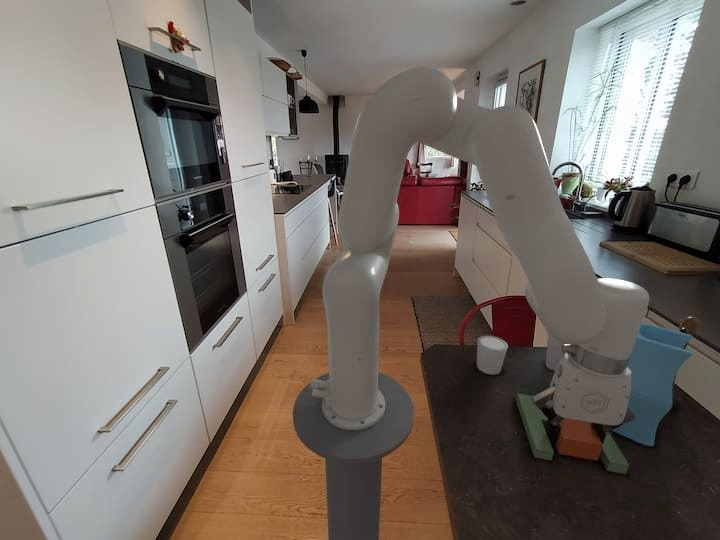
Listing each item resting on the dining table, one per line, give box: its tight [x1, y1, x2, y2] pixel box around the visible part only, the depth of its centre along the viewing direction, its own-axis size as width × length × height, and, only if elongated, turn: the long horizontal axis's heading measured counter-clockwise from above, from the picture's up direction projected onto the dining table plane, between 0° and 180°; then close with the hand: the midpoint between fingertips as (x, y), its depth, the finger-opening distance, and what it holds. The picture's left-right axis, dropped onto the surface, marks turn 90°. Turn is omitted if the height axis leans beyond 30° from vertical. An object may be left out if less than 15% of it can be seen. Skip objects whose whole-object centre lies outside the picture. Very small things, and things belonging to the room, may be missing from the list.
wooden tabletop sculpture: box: [671, 316, 701, 409], centre depth 66 cm, size 6×5×20 cm
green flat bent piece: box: [515, 393, 630, 475], centre depth 61 cm, size 14×14×2 cm
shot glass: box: [476, 335, 509, 376], centre depth 79 cm, size 7×7×7 cm
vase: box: [612, 321, 694, 447], centre depth 60 cm, size 8×8×20 cm
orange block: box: [554, 418, 603, 461], centre depth 57 cm, size 6×6×4 cm
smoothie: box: [545, 331, 567, 372], centre depth 78 cm, size 6×6×14 cm
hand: (572, 440), depth 58 cm, fingers closed on orange block, 5 cm apart
